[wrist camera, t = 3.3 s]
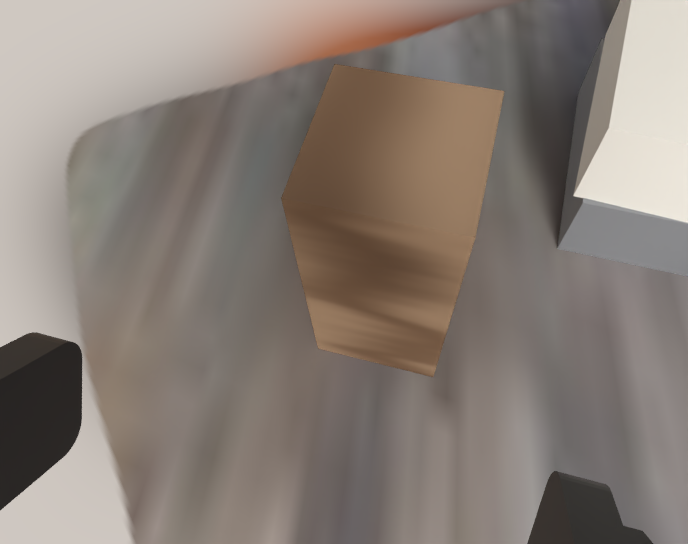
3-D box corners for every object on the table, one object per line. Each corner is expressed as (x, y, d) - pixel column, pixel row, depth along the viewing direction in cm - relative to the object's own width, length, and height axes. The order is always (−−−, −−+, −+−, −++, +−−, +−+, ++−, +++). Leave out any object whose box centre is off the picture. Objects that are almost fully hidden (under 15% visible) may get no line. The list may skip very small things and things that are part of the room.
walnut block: (454, 273, 26) (504, 91, 16) (433, 377, 23) (475, 237, 14) (348, 250, 26) (334, 63, 17) (318, 348, 24) (281, 197, 14)
